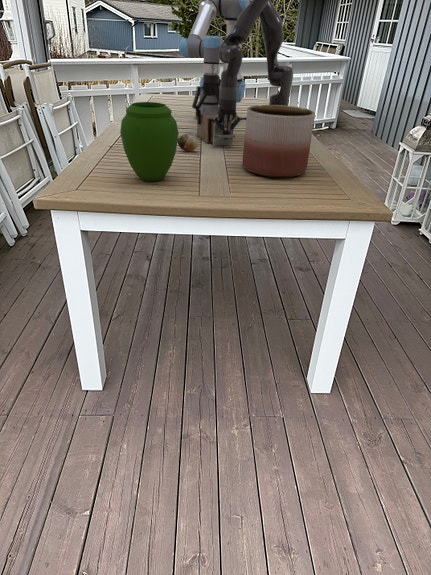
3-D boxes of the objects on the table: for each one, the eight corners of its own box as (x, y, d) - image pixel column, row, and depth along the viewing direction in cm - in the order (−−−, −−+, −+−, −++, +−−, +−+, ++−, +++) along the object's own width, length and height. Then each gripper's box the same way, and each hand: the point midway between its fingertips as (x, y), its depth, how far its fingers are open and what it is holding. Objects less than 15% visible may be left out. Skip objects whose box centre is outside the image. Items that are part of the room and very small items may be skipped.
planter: (315, 179, 154) (326, 116, 142) (250, 180, 150) (256, 115, 138) (293, 161, 175) (302, 105, 163) (236, 161, 171) (240, 103, 159)
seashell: (198, 149, 184) (198, 131, 180) (199, 152, 180) (199, 133, 175) (176, 149, 183) (176, 130, 179) (177, 152, 178) (177, 133, 174)
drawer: (236, 147, 188) (238, 126, 183) (217, 148, 185) (218, 126, 180) (221, 137, 205) (222, 116, 200) (203, 137, 202) (204, 117, 197)
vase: (131, 189, 135) (125, 110, 122) (118, 172, 150) (112, 100, 137) (186, 184, 142) (187, 109, 129) (169, 168, 157) (167, 99, 144)
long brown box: (227, 142, 199) (229, 118, 193) (207, 143, 196) (208, 118, 190) (216, 134, 213) (217, 111, 207) (197, 135, 210) (197, 111, 204)
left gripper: (189, 74, 186) (189, 125, 198) (236, 75, 193) (233, 124, 205) (185, 72, 192) (185, 122, 204) (231, 73, 199) (228, 121, 211)
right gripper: (216, 99, 172) (214, 141, 181) (245, 99, 176) (242, 140, 185) (210, 96, 178) (209, 137, 187) (239, 96, 182) (236, 136, 191)
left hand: (209, 123), depth 205 cm, fingers closed on long brown box, 10 cm apart
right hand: (225, 139), depth 186 cm, fingers closed
